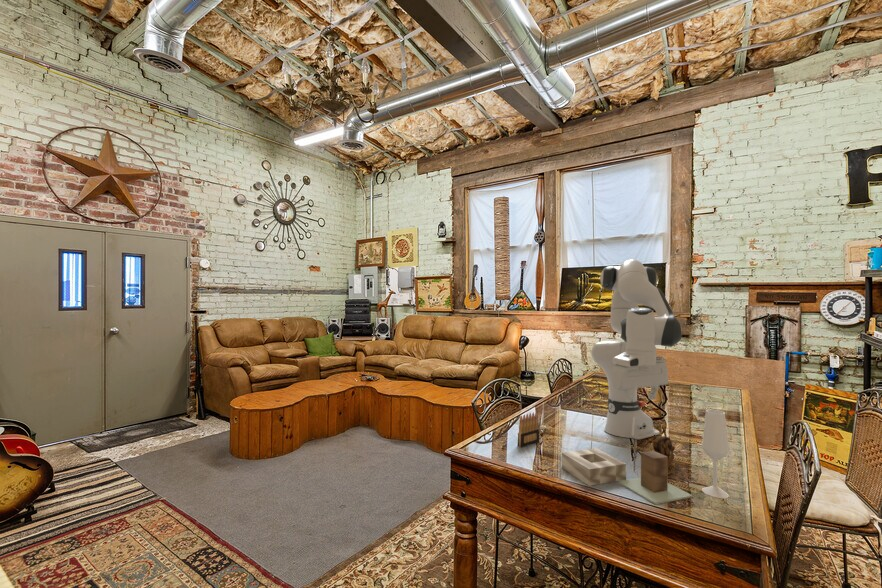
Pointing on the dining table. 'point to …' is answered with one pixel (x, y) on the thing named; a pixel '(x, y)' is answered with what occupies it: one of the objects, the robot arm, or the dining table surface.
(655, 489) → the walnut peg
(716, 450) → the champagne flute
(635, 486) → the sage mat
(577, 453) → the pocket block
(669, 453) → the wooden carving
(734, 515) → the dining table surface
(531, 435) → the ammunition clip
